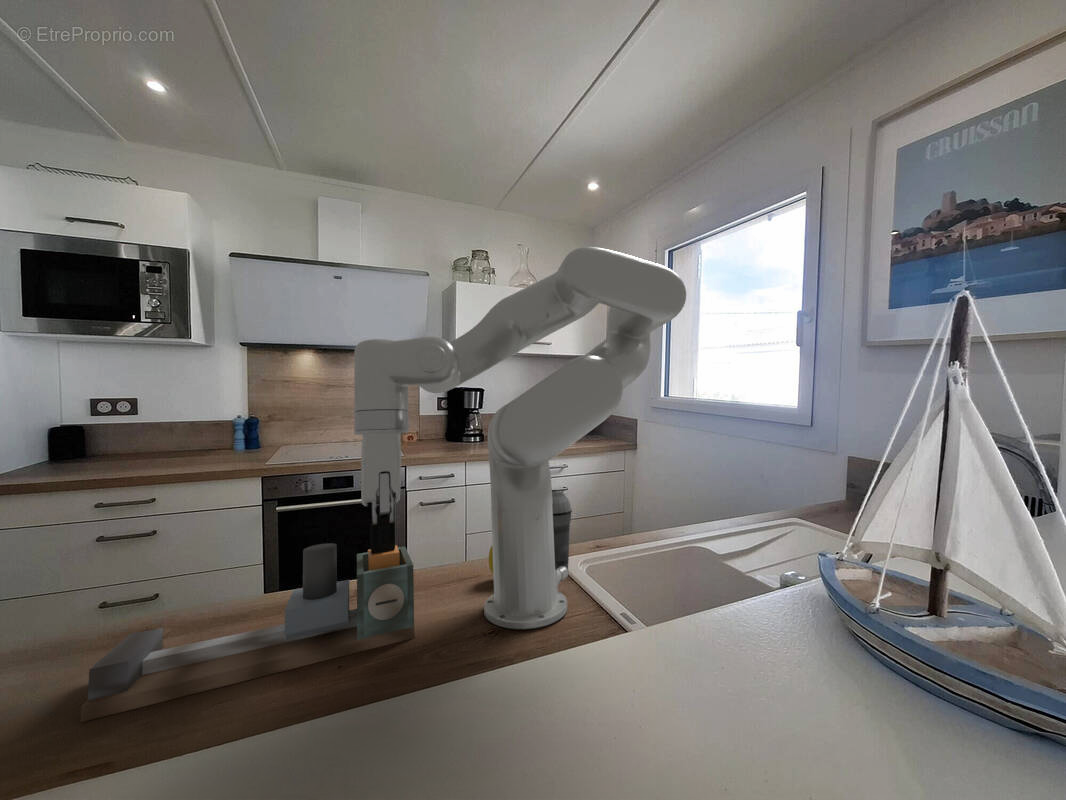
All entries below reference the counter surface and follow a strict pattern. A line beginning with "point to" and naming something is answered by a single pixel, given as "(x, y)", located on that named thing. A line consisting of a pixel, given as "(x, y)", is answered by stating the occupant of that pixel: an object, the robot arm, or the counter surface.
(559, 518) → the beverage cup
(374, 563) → the orange block
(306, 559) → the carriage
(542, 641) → the counter surface
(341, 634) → the rail base
